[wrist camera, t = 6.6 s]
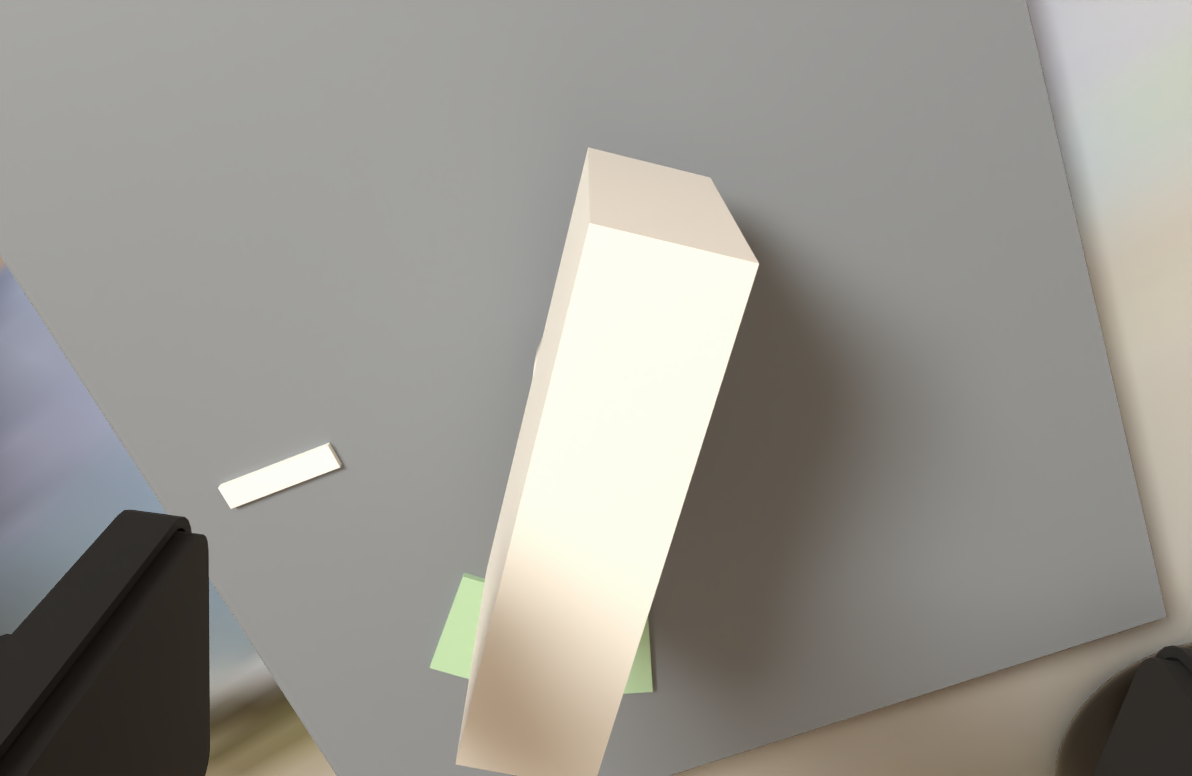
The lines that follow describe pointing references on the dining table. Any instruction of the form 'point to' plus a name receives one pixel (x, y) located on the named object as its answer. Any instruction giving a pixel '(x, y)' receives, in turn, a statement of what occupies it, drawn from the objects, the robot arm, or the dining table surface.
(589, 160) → the white ice pop
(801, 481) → the slate dial board
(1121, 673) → the supplement bottle
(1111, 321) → the dining table surface
